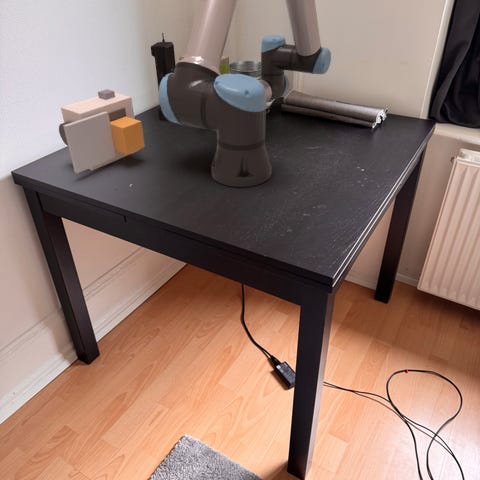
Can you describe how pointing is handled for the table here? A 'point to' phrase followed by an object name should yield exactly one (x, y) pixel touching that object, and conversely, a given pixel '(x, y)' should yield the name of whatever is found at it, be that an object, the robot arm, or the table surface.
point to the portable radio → (163, 63)
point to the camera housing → (103, 102)
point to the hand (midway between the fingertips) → (209, 114)
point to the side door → (101, 139)
